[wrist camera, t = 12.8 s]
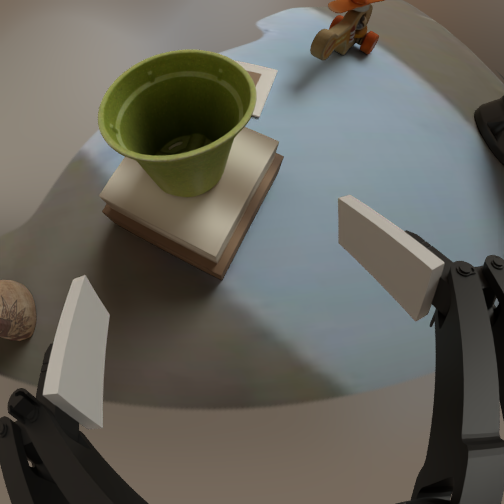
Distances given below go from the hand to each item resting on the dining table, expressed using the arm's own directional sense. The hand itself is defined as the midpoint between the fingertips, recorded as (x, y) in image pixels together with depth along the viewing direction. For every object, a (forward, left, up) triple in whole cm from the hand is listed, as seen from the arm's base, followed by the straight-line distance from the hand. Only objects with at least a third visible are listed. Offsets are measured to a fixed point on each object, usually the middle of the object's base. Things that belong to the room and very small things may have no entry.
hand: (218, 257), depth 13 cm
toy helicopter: (-42, -1, -14) cm, 44 cm away
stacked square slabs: (-7, -7, -14) cm, 17 cm away
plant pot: (-7, -7, -7) cm, 12 cm away
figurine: (+15, -21, -14) cm, 29 cm away
